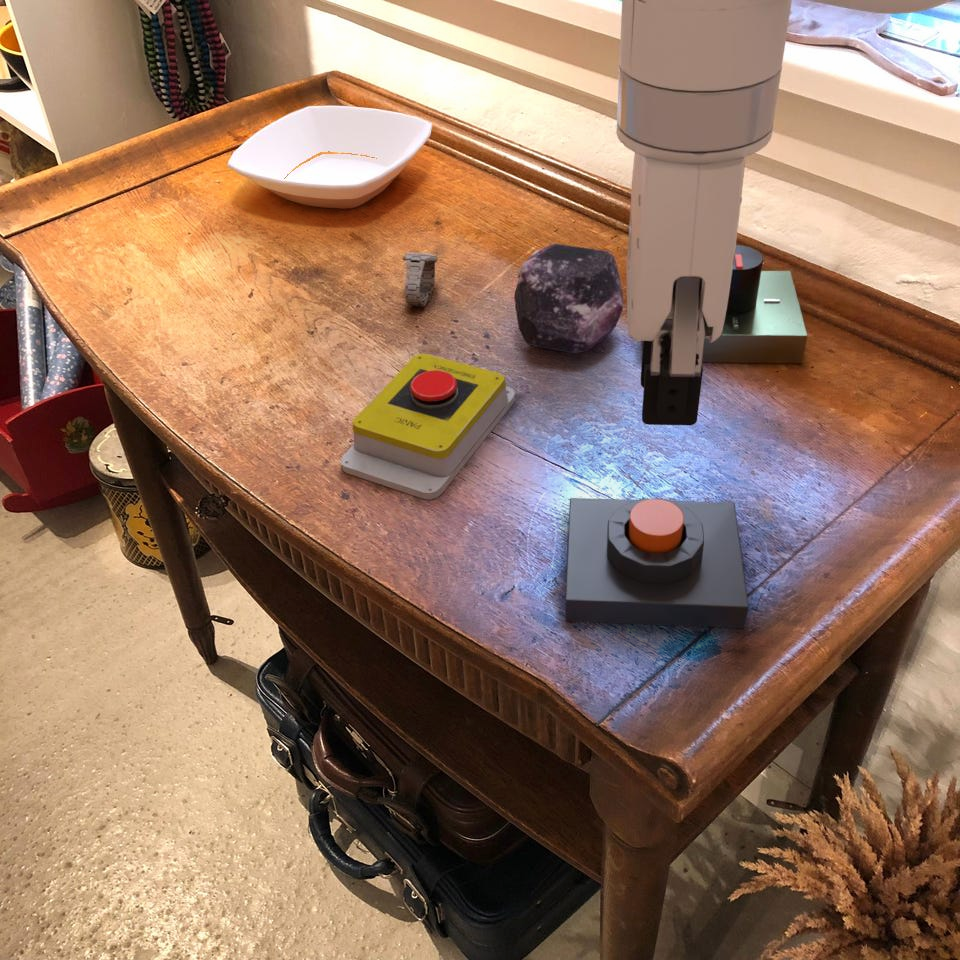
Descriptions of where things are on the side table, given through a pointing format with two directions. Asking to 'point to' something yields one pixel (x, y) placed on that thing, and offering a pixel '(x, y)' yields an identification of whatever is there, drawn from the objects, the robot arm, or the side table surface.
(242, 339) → the side table surface
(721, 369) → the side table surface
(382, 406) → the emergency button
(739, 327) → the panel
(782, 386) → the side table surface
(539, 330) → the mineral specimen
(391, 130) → the bowl
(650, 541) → the button
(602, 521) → the button block
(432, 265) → the wristwatch
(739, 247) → the knob
